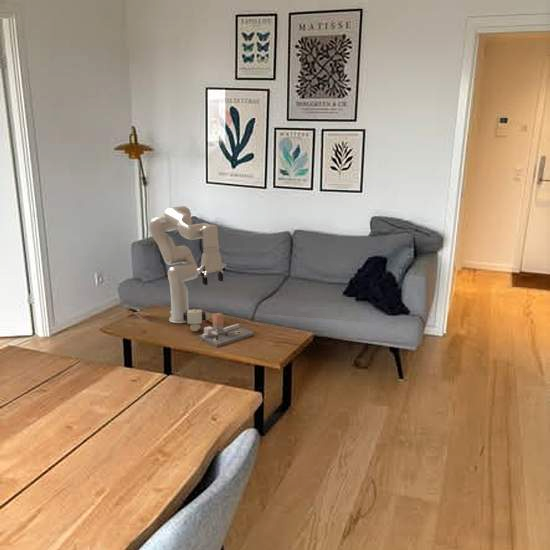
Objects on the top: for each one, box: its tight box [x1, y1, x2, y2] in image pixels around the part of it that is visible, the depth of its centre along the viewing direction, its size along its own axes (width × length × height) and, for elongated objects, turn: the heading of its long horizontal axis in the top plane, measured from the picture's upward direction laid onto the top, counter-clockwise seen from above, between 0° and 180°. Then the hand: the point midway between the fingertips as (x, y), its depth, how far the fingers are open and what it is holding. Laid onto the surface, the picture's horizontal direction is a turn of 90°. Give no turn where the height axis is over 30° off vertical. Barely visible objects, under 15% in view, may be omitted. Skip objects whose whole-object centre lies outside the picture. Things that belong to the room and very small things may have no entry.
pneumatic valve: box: [183, 308, 207, 332], centre depth 289 cm, size 6×12×12 cm, turn 94°
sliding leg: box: [211, 311, 227, 336], centre depth 279 cm, size 9×4×10 cm, turn 43°
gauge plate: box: [197, 323, 255, 348], centre depth 280 cm, size 16×24×6 cm, turn 133°
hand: (213, 282), depth 277 cm, fingers open, 9 cm apart
